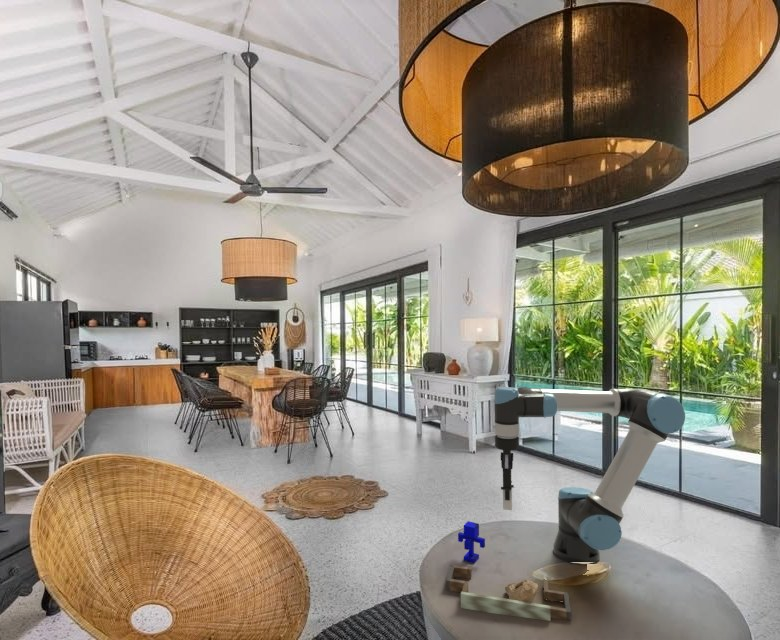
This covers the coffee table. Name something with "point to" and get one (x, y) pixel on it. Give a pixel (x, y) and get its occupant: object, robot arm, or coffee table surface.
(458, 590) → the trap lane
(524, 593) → the pottery oil lamp
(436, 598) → the coffee table surface
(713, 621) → the coffee table surface
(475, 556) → the figurine
